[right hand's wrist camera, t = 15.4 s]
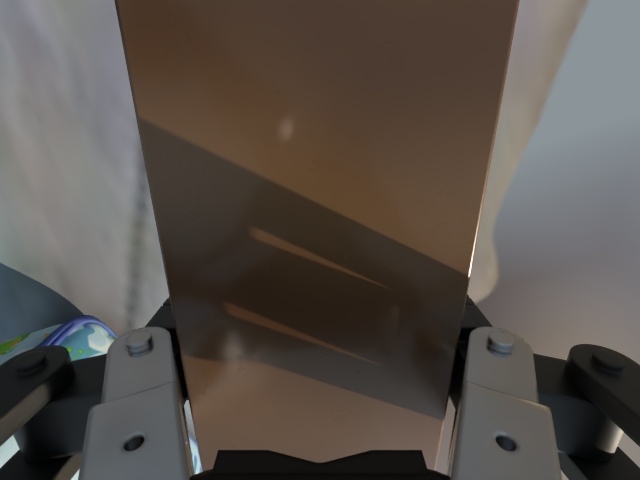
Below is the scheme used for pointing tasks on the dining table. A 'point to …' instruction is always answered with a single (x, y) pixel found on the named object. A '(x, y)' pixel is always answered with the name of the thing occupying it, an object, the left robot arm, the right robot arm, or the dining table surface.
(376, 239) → the box
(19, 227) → the dining table surface
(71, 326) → the lunch box
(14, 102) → the dining table surface
